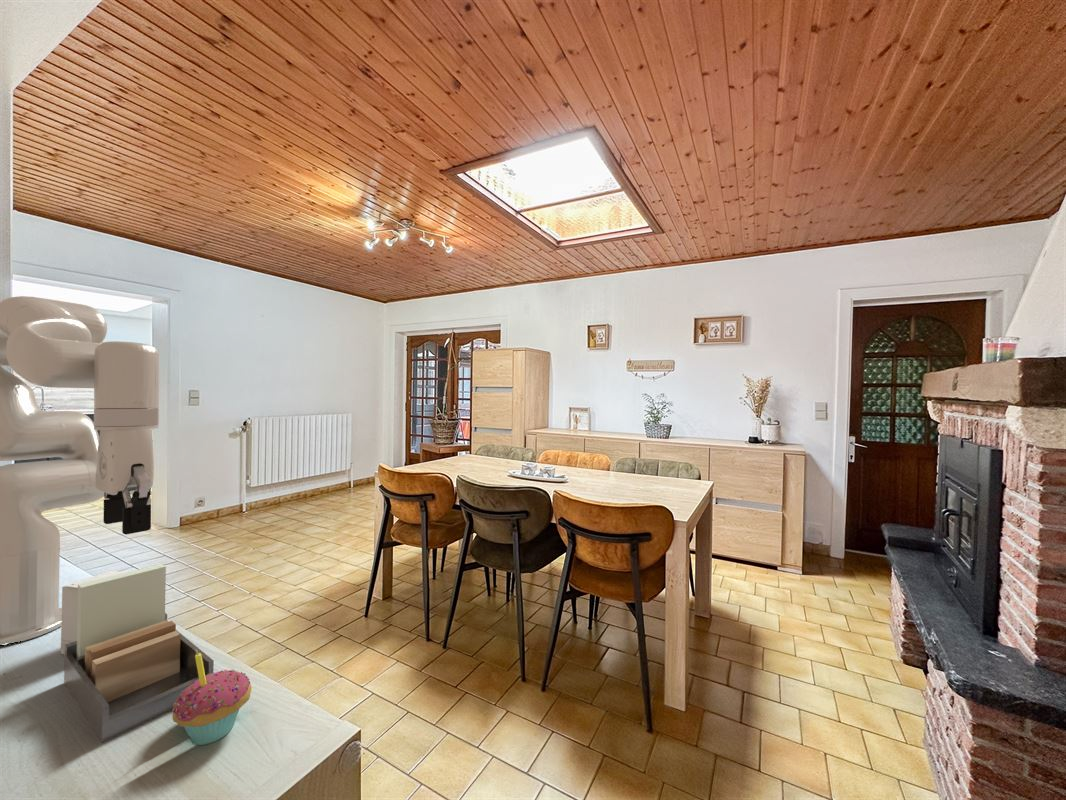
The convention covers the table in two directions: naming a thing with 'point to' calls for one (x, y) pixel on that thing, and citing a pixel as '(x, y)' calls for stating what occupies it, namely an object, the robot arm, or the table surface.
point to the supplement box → (74, 609)
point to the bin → (134, 705)
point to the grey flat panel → (119, 605)
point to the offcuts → (133, 659)
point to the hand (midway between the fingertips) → (126, 526)
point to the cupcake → (211, 704)
